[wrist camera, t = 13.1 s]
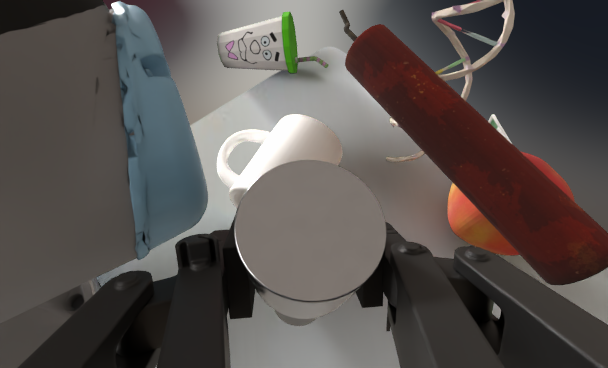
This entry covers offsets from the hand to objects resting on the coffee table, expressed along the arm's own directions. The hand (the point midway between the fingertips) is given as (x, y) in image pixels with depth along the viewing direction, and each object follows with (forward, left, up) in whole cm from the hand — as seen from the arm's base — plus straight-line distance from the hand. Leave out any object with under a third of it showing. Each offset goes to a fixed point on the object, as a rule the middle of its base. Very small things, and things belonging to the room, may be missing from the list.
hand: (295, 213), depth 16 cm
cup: (-21, +26, -12) cm, 35 cm away
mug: (-6, +8, -15) cm, 18 cm away
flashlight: (+2, -3, -4) cm, 5 cm away
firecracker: (+20, +6, -5) cm, 21 cm away
